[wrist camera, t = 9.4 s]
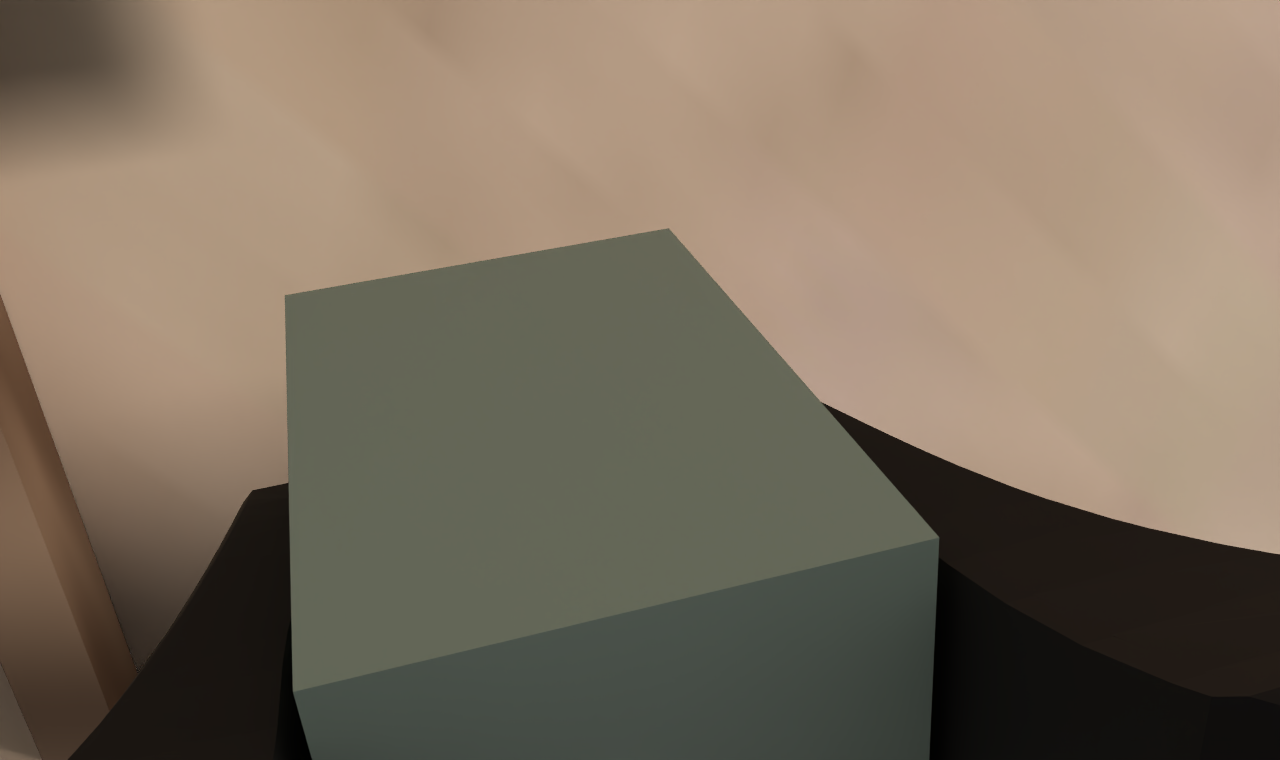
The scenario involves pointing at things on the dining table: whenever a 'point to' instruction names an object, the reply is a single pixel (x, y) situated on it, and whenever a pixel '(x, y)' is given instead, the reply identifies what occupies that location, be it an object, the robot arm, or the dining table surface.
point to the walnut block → (50, 580)
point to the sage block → (588, 526)
